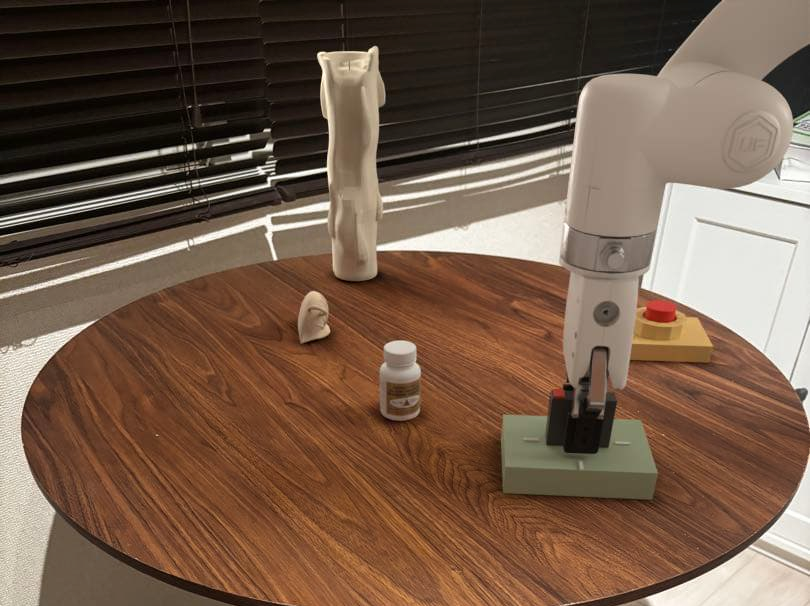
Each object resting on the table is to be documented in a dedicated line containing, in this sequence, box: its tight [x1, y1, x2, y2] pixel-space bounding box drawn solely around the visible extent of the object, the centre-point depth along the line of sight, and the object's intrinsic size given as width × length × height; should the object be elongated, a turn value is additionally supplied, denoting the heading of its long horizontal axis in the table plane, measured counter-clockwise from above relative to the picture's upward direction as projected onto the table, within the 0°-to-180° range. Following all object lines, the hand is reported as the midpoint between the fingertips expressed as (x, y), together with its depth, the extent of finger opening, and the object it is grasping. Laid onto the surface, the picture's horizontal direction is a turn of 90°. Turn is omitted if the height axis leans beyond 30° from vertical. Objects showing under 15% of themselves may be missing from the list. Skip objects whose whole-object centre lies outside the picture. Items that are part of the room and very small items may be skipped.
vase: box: [316, 45, 386, 282], centre depth 114 cm, size 9×8×30 cm
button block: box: [630, 305, 714, 364], centre depth 102 cm, size 12×9×4 cm
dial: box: [545, 388, 618, 447], centre depth 77 cm, size 6×2×5 cm, turn 86°
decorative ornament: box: [297, 290, 331, 344], centre depth 104 cm, size 4×8×5 cm, turn 7°
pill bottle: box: [379, 340, 422, 422], centre depth 87 cm, size 4×4×8 cm
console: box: [500, 414, 659, 501], centre depth 80 cm, size 14×10×3 cm
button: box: [645, 300, 678, 323], centre depth 101 cm, size 4×4×2 cm
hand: (577, 434), depth 78 cm, fingers open, 4 cm apart
